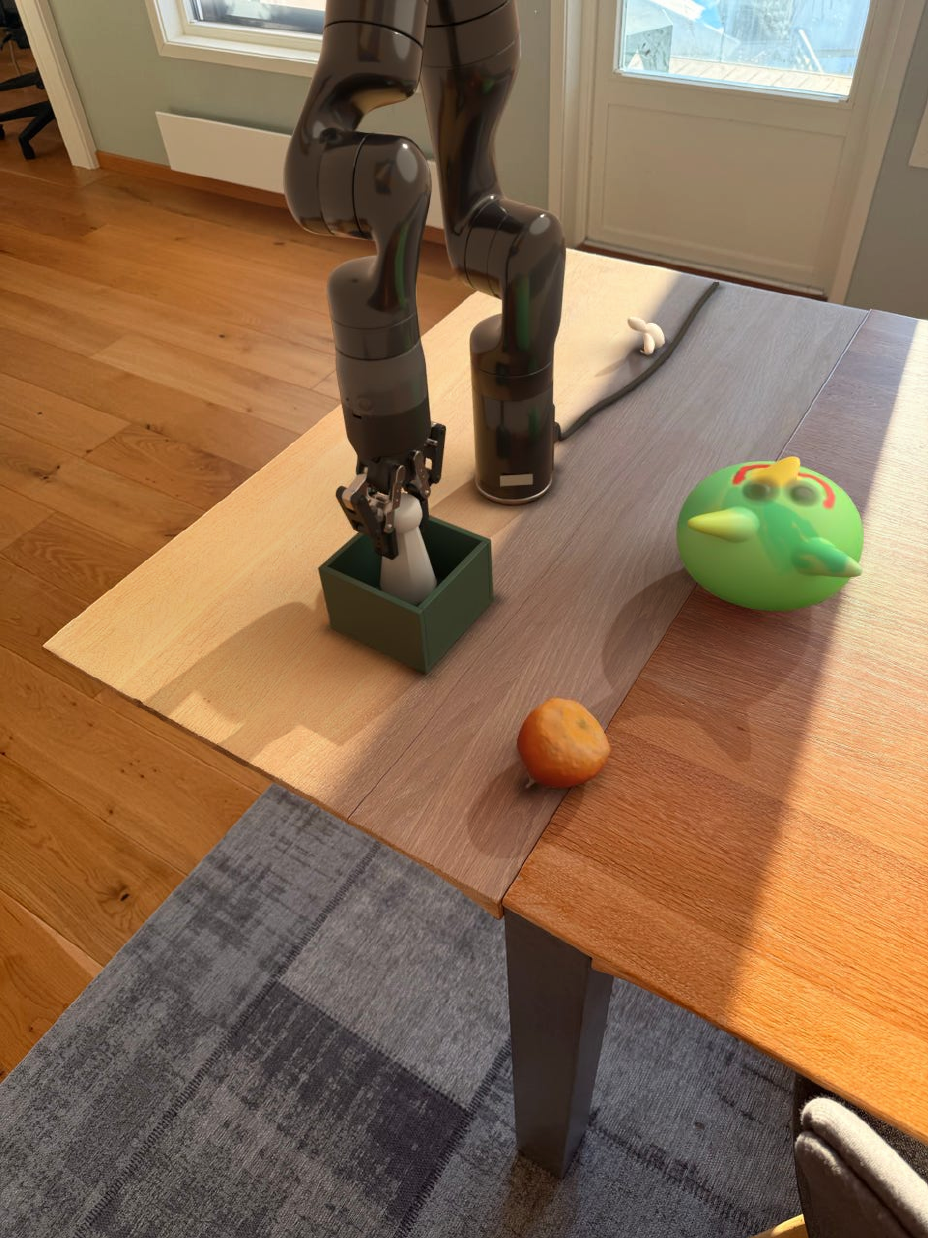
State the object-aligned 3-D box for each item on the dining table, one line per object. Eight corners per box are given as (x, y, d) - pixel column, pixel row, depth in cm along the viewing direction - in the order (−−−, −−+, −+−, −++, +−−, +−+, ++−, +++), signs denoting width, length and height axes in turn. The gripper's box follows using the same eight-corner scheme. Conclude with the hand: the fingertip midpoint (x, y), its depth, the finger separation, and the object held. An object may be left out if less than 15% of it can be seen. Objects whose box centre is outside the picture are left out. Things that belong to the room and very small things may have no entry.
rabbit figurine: (679, 347, 132) (657, 345, 126) (658, 364, 134) (636, 363, 128) (657, 314, 133) (635, 310, 127) (637, 332, 135) (614, 329, 129)
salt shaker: (430, 623, 92) (420, 524, 83) (376, 617, 93) (360, 519, 84) (443, 584, 96) (434, 486, 87) (391, 579, 97) (377, 481, 88)
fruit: (491, 728, 83) (537, 675, 78) (563, 747, 86) (611, 697, 81) (501, 803, 77) (551, 750, 73) (578, 821, 81) (630, 771, 76)
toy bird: (847, 553, 99) (885, 441, 89) (839, 663, 88) (880, 550, 78) (682, 525, 104) (699, 415, 94) (654, 626, 93) (670, 515, 83)
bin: (401, 560, 102) (393, 500, 96) (493, 600, 97) (491, 539, 91) (331, 628, 95) (317, 567, 89) (426, 675, 90) (418, 614, 84)
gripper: (399, 340, 82) (415, 491, 95) (294, 415, 74) (327, 569, 87) (467, 361, 79) (475, 514, 91) (365, 442, 71) (389, 598, 83)
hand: (403, 540), depth 89 cm, fingers closed on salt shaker, 4 cm apart
